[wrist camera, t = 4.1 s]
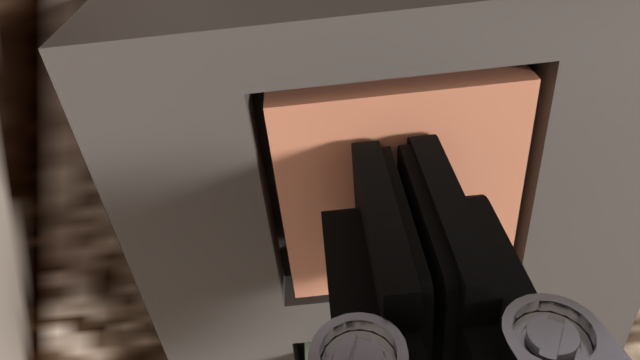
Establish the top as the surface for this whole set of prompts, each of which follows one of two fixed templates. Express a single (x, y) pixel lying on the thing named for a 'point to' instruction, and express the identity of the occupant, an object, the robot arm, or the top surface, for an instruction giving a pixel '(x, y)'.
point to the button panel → (321, 70)
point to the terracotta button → (395, 145)
